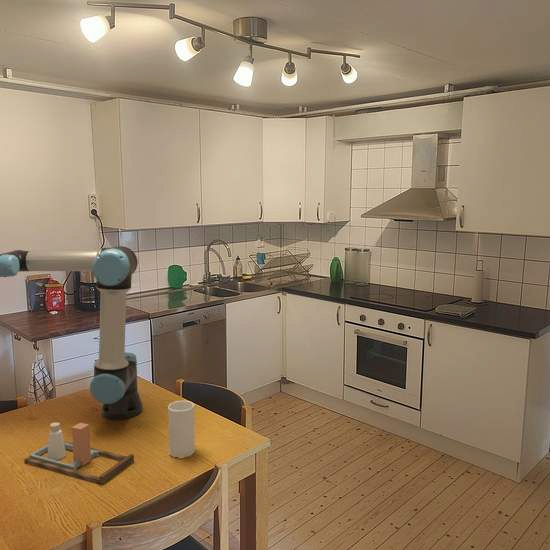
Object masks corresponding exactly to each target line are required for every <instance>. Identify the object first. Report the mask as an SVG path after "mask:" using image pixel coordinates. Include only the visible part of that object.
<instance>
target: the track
mask: <svg viewBox="0 0 550 550" xmlns="http://www.w3.org/2000/svg"><path fill="white" fill-rule="evenodd" d="M64 443H68V444H72V445H73V442H70V441H66V440H64ZM90 449H92V450H96V451H99V456H98V457H104V458H108V459H112V460H115V461H118V462H117V463H116V464H114V465H113V466H112V467H110V468H109V469H107V470H105V472H103V473H102V474H101V475H99V476H96V475H93V474H90V473H85V472H82V471H79V470H76V471H75V470H71V469H68V468H64V467H60V466H57V465H53V464H50V463H46V462H42V461H39V460H35V459H31V458H29V457H25V458H24V463H25V464H28V465H30V464H31V465H32V466H34V467H38V468H40V469H41V468H42V469H46V470H49V471H52V472H55V473H58V474H63V475H67V476H70V477H73V478H77V479H81V480H84V481H88V482H91V483H95V484H98V485H102V486H103V485H105V484H106V483H108V482H109V481H110V480H112V479H113V478H114V477H116V476H118V474H120V473H121V472H123V471H124V470H126V468H128V467H129V466H130V465H132V464H133V463H134V462H135V454H132V453H130V454H129V455H127V456H126V455H122V454H118V453H114V452H110V451H106V450H102V449H98V448H93V447H90Z"/></svg>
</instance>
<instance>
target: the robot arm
mask: <svg viewBox="0 0 550 550" xmlns="http://www.w3.org/2000/svg"><path fill="white" fill-rule="evenodd" d="M138 261H139V260H138V256H137V255H136V253H135V252H134V250H132V249H131V248H130V247H127V246H124V245H123V246H121V245H120V246H113V247H101V248H100V249H98V250H24V249H15V250H12V251H9V252H5V253H3V252H2V253H0V278H8V277H15V276H17V275H18V273H19V272H20V273H21V272H92V274H93V277H94V279H95V288H96V289H97V290H98V292H99V293H100V295H99V297H100V299H99V300H100V301H99V302H100V303H99V304H100V305H99V341H98V343H99V344H98V347H99V349H98V359H97V360H96V361H95V362H94V363H93V365H94V366H93V378H92V379H91V381H90V384H89V393H90V395H91V396H92V397H93V399H94V400H96V402H98V403H101V404H102V406H101V414H102V416H103V417H104V418H106V419H110V420H125V419H130V418H133V416H134V417H137V416H138V415H140V414H141V413H142V412H143V411H142V410H144V404H143V401H142V398H141V397H140V393H139V391H138V367H137V364H138V361H137V355H135V353H132V352H126V351H125V349H126V348H125V347H126V323H127V322H126V320H127V319H126V315H127V293H128V292H129V291H130V290H131V288H132V277H133V276H132V275H134V273H135V272H136V270H137V268H138ZM139 413H140V414H139Z"/></svg>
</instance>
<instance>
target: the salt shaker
mask: <svg viewBox="0 0 550 550" xmlns="http://www.w3.org/2000/svg"><path fill="white" fill-rule="evenodd" d="M60 425H61V423H60V422H52V423H50V424H49V427H50V431H49V433H48V444H47V445H48V451H47V458H48V459H52V460H56V461H59V460H62V459H64V458H65V457H66V455H67V452H66V449H65V445H64V441H65V440H64V436H63V434H64V433H63V431H62V430H61V429H60V428H61V426H60Z"/></svg>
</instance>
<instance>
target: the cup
mask: <svg viewBox="0 0 550 550" xmlns="http://www.w3.org/2000/svg"><path fill="white" fill-rule="evenodd" d="M167 412H168V448H169V449H168V453H170V454H169V455H171V456H170V457H172V456H173V457H172V458H174V457H187V456H190V455H192V454H193V453H194V452H196V444H195V443H196V440H195V437H196V436H195V435H196V433H195V432H196V431H195V404H194V403H193V402H192V401H190V400H176V401H173V402H171V403H169V405H168V406H167ZM194 454H195V453H194ZM194 454H193V455H194ZM193 455H192V456H193ZM190 457H191V456H190ZM187 458H188V457H187Z"/></svg>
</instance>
